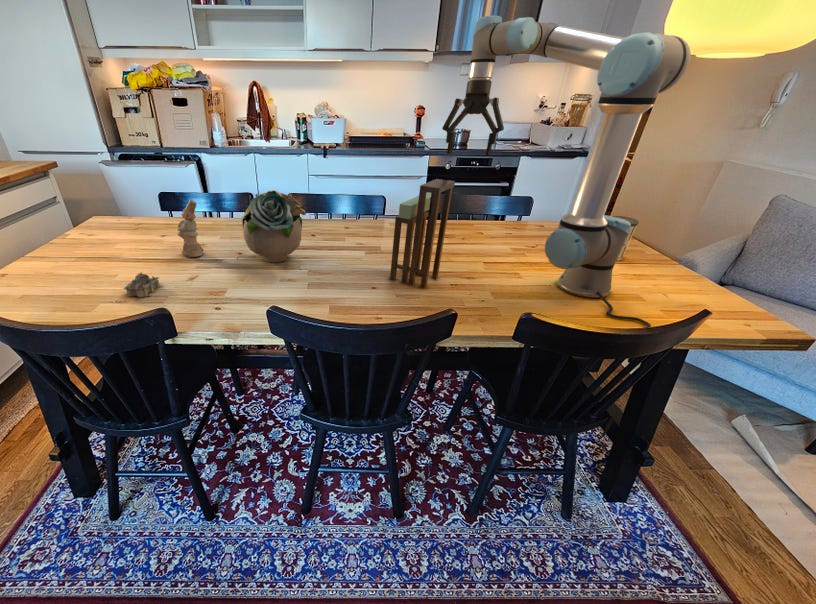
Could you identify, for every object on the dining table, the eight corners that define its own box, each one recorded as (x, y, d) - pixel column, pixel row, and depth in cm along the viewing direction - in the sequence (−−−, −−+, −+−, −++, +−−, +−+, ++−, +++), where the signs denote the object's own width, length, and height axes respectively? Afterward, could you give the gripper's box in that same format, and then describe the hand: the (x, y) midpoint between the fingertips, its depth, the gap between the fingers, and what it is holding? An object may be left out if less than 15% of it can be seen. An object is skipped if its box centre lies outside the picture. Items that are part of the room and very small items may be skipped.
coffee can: (588, 250, 160) (602, 215, 152) (615, 251, 160) (630, 216, 152) (599, 260, 152) (615, 222, 144) (628, 261, 151) (644, 223, 143)
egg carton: (144, 282, 132) (141, 271, 129) (164, 285, 130) (161, 273, 128) (123, 296, 123) (119, 284, 121) (143, 299, 122) (140, 286, 119)
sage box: (425, 204, 136) (426, 192, 134) (436, 206, 135) (437, 193, 132) (398, 217, 123) (399, 203, 121) (410, 219, 121) (411, 205, 119)
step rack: (405, 268, 144) (416, 176, 126) (439, 276, 138) (455, 181, 120) (389, 279, 135) (398, 182, 118) (424, 288, 129) (439, 188, 112)
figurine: (209, 252, 156) (199, 199, 144) (194, 259, 149) (183, 204, 138) (192, 249, 159) (181, 196, 147) (176, 256, 152) (164, 201, 141)
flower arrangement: (319, 254, 154) (318, 188, 140) (281, 276, 137) (275, 202, 123) (269, 243, 165) (264, 180, 151) (227, 262, 147) (217, 193, 133)
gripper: (523, 79, 123) (507, 155, 134) (446, 82, 135) (438, 152, 146) (517, 77, 118) (502, 156, 129) (438, 81, 130) (430, 153, 141)
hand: (468, 154), depth 138 cm, fingers open, 13 cm apart
